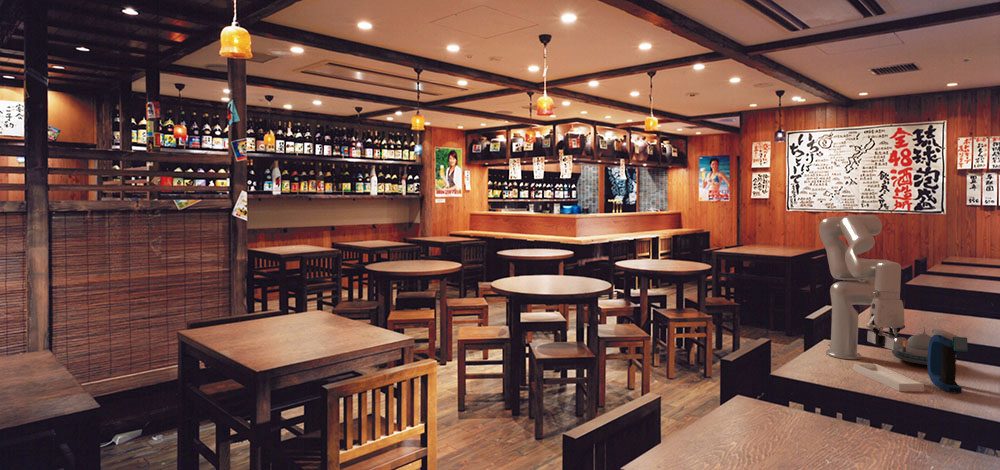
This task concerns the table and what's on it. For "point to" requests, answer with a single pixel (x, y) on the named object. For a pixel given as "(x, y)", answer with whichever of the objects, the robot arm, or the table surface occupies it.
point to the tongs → (890, 341)
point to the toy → (916, 349)
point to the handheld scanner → (944, 359)
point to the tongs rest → (888, 377)
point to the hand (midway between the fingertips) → (885, 345)
